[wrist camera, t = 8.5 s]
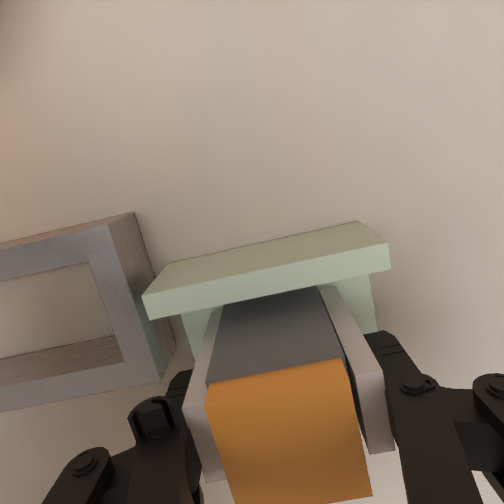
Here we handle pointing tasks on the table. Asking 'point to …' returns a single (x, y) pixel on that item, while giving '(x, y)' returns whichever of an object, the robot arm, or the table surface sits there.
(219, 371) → the orange tall block
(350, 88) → the table surface
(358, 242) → the end holder
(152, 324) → the clip
